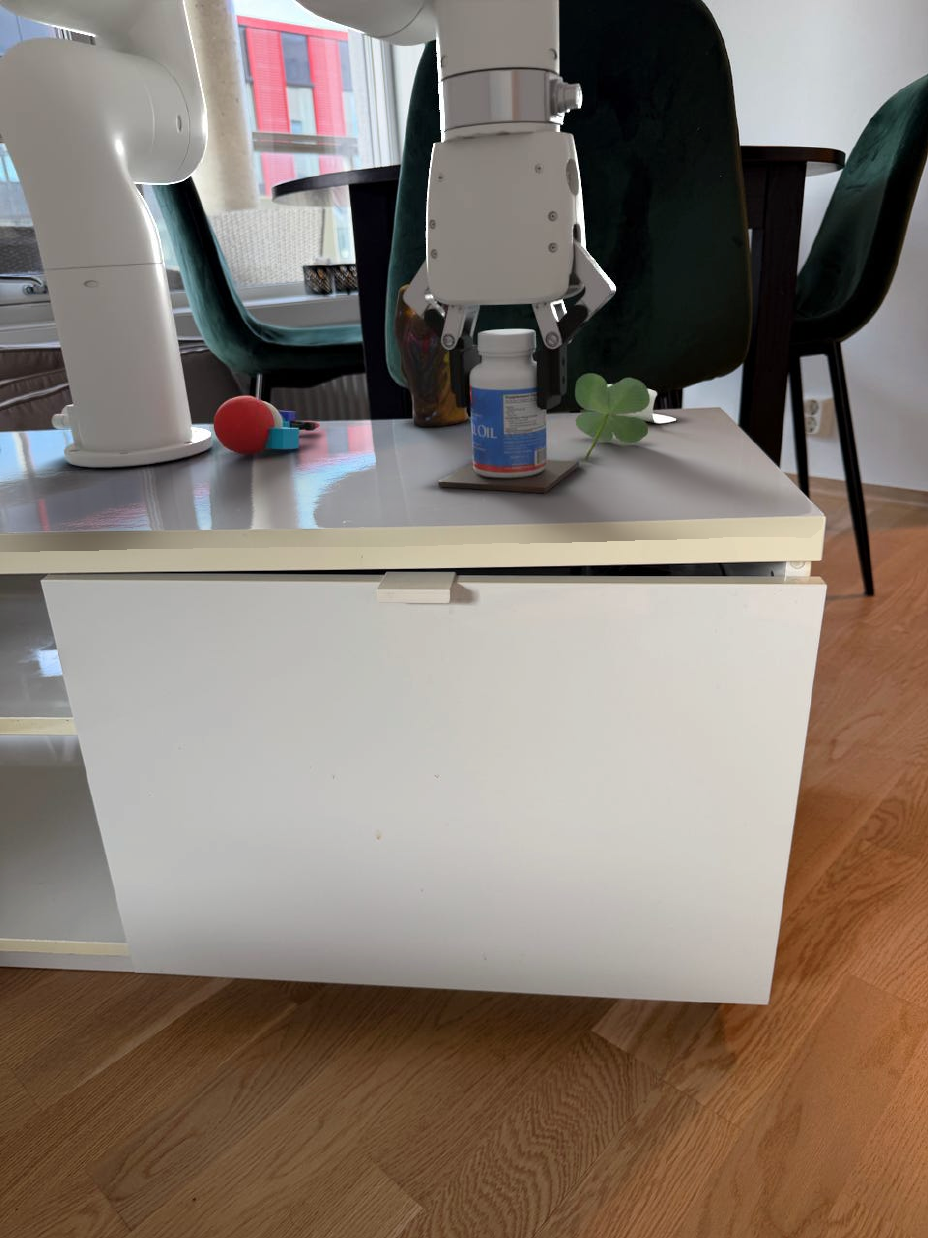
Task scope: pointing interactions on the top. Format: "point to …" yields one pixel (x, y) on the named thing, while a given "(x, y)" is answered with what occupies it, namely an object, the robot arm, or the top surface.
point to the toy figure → (257, 426)
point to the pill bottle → (507, 406)
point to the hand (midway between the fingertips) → (508, 402)
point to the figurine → (425, 369)
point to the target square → (523, 484)
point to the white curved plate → (649, 411)
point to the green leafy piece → (611, 409)
